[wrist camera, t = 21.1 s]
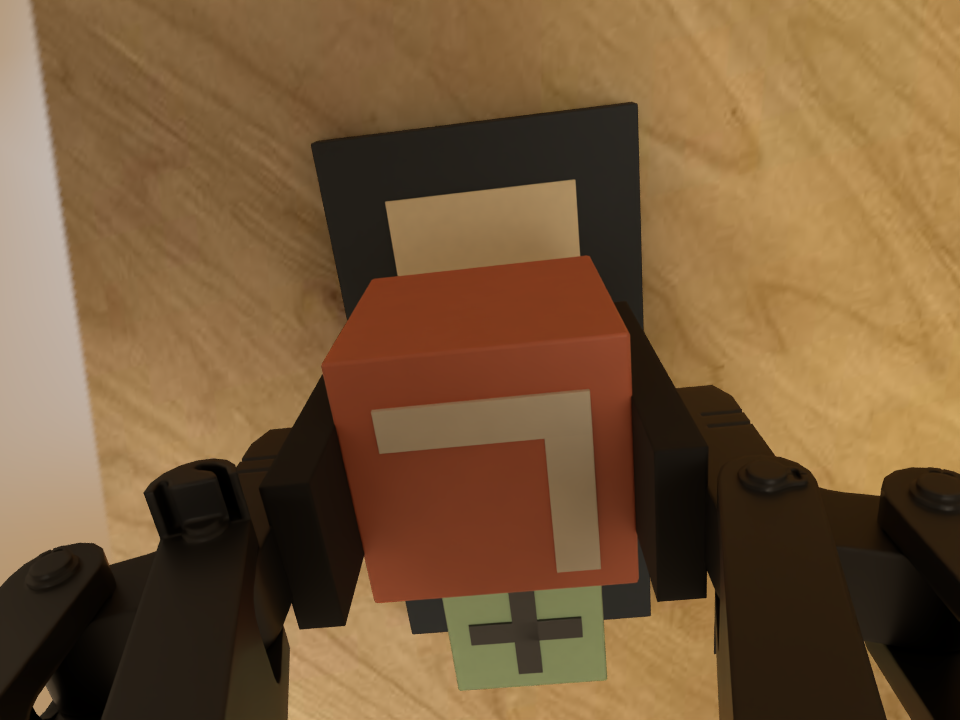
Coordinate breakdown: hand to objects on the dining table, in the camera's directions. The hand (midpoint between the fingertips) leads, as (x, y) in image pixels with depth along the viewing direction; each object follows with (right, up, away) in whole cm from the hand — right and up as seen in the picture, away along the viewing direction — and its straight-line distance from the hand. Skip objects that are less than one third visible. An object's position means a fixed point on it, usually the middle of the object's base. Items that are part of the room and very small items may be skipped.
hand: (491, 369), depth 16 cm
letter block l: (0, 0, 0) cm, 0 cm away
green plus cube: (+1, -6, +10) cm, 12 cm away
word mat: (+1, -1, +9) cm, 9 cm away
